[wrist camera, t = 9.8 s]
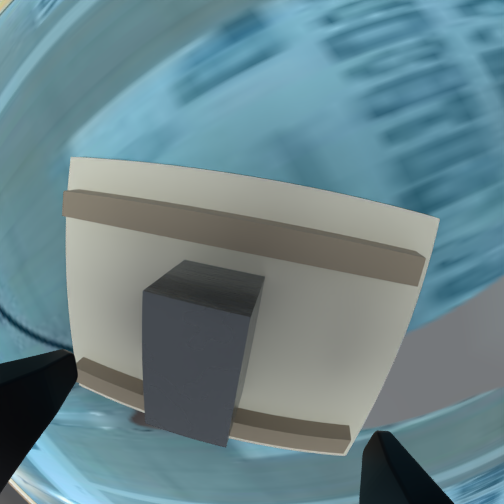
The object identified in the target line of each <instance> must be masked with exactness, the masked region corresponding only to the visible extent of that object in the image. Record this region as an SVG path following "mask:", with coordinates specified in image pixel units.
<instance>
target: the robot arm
mask: <svg viewBox="0 0 504 504" xmlns="http://www.w3.org/2000/svg"><path fill="white" fill-rule="evenodd" d="M77 378H78V370H77V365H76V359H75V356H74V354H73V353H71V352H69V351H67V350H64V349H61V350H57V351H53V352H49V353H44V354H40V355H36V356H32V357H28V358H23V359H19V360H15V361H10V362H6V363H1V364H0V493H1V492H2V490H3V488H4V487H5V486H6V484H7V483H8V481H9V480H10V478H11V477H12V475H13V474H14V472H15V471H16V469H17V468H18V467H19V465H20V464H21V462H22V461H23V459H24V458H25V457H26V455H27V454H28V452H29V451H30V450H31V448H32V447H33V445H34V444H35V443H36V441H37V440H38V439H39V437H40V436H41V434H42V433H43V432H44V430H45V429H46V428H47V426H48V425H49V424H50V422H51V421H52V420H53V418H54V417H55V415H56V414H57V412H58V411H59V409H60V408H61V406H62V404H63V403H64V401H65V399H66V397H67V396H68V394H69V392H70V391H71V389H72V388H73V386H74V384H75V383H76V381H77ZM359 504H454V503H453V502H452V501H451V499H450V498H449V497H448V496H447V495H446V494H445V493H444V492H443V491H442V489H441V488H440V487H439V486H438V485H437V484H436V483H435V482H434V481H433V479H432V478H431V477H430V476H429V475H428V474H427V473H426V472H425V471H424V469H423V468H422V467H421V466H420V465H419V464H418V463H417V462H416V460H415V459H414V458H413V457H412V456H411V455H410V454H409V453H408V451H407V450H406V449H405V448H404V447H403V446H402V445H401V444H400V442H399V441H398V440H397V439H396V438H395V437H394V436H393V434H392V433H391V432H389V431H376V432H374V434H373V435H372V437H371V439H370V440H369V442H368V443H367V445H366V447H365V448H364V451H363V456H362V472H361V485H360V497H359Z"/></svg>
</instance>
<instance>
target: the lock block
mask: <svg viewBox="0 0 504 504" xmlns="http://www.w3.org/2000/svg"><path fill="white" fill-rule="evenodd" d="M264 280H265V276H260V275H255V274H250V273H246V272H241V271H236V270H231V269H226V268H222V267H217V266H212V265H207V264H203V263H198V262H193V261H189V260H183V261H182V262H181V263H179V264H178V265H177V266H175V267H174V268H173V269H171V270H170V271H169V272H167V273H166V274H164V275H163V276H162V277H160V278H159V279H158V280H156V281H155V282H154V283H152V284H151V285H150V286H148V287H147V288H146V289H144V290H143V296H142V370H143V394H144V410H145V423H147V424H149V425H152V426H155V427H158V428H161V429H164V430H167V431H170V432H173V433H176V434H179V435H182V436H185V437H189V438H192V439H196V440H199V441H203V442H206V443H210V444H214V445H218V446H222V447H226V446H227V442H228V439H229V436H230V433H231V429H232V426H233V423H234V419H235V416H236V413H237V409H238V406H239V402H240V399H241V396H242V392H243V388H244V383H245V378H246V373H247V368H248V363H249V358H250V353H251V348H252V343H253V338H254V332H255V327H256V322H257V317H258V312H259V307H260V301H261V296H262V291H263V286H264Z"/></svg>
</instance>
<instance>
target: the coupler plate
mask: <svg viewBox="0 0 504 504" xmlns="http://www.w3.org/2000/svg"><path fill="white" fill-rule="evenodd" d="M62 216H65V217H66V275H67V293H68V306H69V317H70V327H71V335H72V343H73V350H74V356H75V359H76V365H77V370H78V378H77V381H76V382H78V383H79V385H80V386H82V387H84V388H86V389H88V390H91V391H93V392H95V393H97V394H99V395H102V396H104V397H106V398H109V399H111V400H113V401H116V402H118V403H121V404H123V405H126V406H128V407H131V408H133V409H136V410H138V411H141V412H144V413H145V410H144V394H143V370H142V296H143V290H144V289H146V288H147V287H148V286H150V285H151V284H152V283H154V282H155V281H156V280H158V279H159V278H160V277H162V276H163V275H164V274H166V273H167V272H169V271H170V270H171V269H173V268H174V267H175V266H177V265H178V264H179V263H181V262H182V261H183V260H189V261H193V262H198V263H203V264H207V265H212V266H217V267H222V268H226V269H231V270H236V271H241V272H246V273H250V274H255V275H260V276H265V280H264V286H263V291H262V296H261V301H260V307H259V312H258V317H257V322H256V327H255V332H254V338H253V343H252V348H251V353H250V358H249V363H248V368H247V373H246V378H245V383H244V388H243V392H242V396H241V399H240V402H239V406H238V409H237V413H236V416H235V419H234V423H233V426H232V429H231V433H230V436H229V438H231V439H235V440H240V441H244V442H249V443H254V444H259V445H264V446H270V447H275V448H282V449H288V450H295V451H302V452H310V453H319V454H329V455H341V456H346V454H347V453H348V451H349V449H350V448H351V446H352V444H353V442H354V441H355V439H356V437H357V435H358V434H359V432H360V430H361V428H362V426H363V425H364V423H365V421H366V418H367V417H368V415H369V413H370V411H371V409H372V407H373V405H374V403H375V401H376V399H377V397H378V395H379V393H380V391H381V389H382V387H383V385H384V383H385V380H386V378H387V376H388V374H389V372H390V370H391V367H392V365H393V363H394V360H395V358H396V356H397V353H398V351H399V348H400V346H401V344H402V341H403V338H404V336H405V333H406V331H407V328H408V325H409V323H410V320H411V317H412V314H413V312H414V309H415V306H416V303H417V300H418V297H419V294H420V291H421V288H422V284H423V281H424V278H425V275H426V271H427V268H428V264H429V261H430V257H431V253H432V250H433V246H434V242H435V238H436V234H437V229H438V225H439V221H440V219H439V218H436V217H433V216H430V215H426V214H423V213H419V212H415V211H411V210H408V209H404V208H400V207H396V206H392V205H388V204H384V203H380V202H376V201H372V200H367V199H363V198H359V197H355V196H350V195H346V194H341V193H336V192H332V191H327V190H322V189H317V188H312V187H307V186H302V185H297V184H292V183H287V182H281V181H276V180H270V179H264V178H258V177H252V176H246V175H240V174H233V173H227V172H220V171H213V170H206V169H199V168H191V167H183V166H175V165H166V164H157V163H148V162H138V161H127V160H115V159H102V158H87V157H71V161H70V170H69V181H68V190H67V191H64V192H63V211H62Z"/></svg>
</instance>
